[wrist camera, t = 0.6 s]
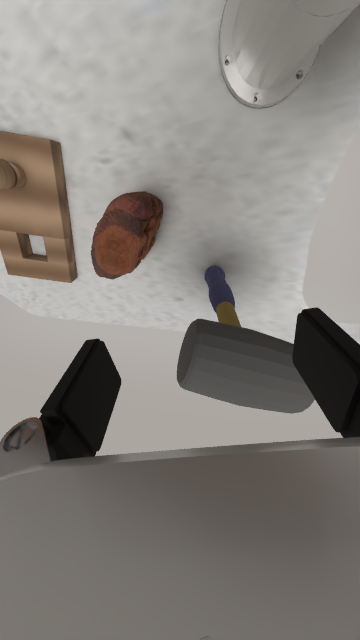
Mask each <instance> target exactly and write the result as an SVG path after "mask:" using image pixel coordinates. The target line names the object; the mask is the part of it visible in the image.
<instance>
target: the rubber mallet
mask: <svg viewBox="0 0 360 640" xmlns="http://www.w3.org/2000/svg"><path fill="white" fill-rule="evenodd" d="M205 281H206V283H207V284H208V287H209V299H210V302H211V304H212V307H213V309H214V310H215V312H216V313H217V317H218V320H219V322H214V321H209V320H204V319H196V320H195V321H193V322H192V323H191V324H190V326H189V327H188V330H187V332H186V334H185V337H184V340H183V343H182V346H181V350H180V355H179V360H178V366H177V380H178V383H179V385H180V387H182V388H184V389H186V390H188V391H192V392H195V393H198V394H201V395H205V396H208V397H211V398H215V399H218V400H222V401H225V402H229V403H232V404H236V405H239V406H245V407H251V408H257V409H263V410H270V411H278V412H284V413H298V412H302V411H304V410H305V409H307V408H308V407H310V405H311V404H312V403H313V401H314V400H315V398H314V397H313V395H312V393H311V392H310V390H309V388H308V387H307V385H306V384H305V382H304V380H303V379H302V377H301V376H300V374H299V372H298V371H297V369H296V367H295V366H294V364H293V360H292V355H293V348H294V344H291V343H289V342H286V341H284V340H281V339H278V338H275V337H272V336H269V335H266V334H263V333H260V332H257V331H254V330H251V329H247V328H242V327H241V325H240V322H239V320H238V317H237V314H236V312H235V309H234V308H235V301H234V297H233V294H232V291H231V289H230V287H229V285H228V284H227V283H226V281H225V274H224V271H223V269H221V268H220V267H217V266H213V267H211V268H209V269H208V270H207V271H206V273H205Z"/></svg>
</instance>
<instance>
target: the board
mask: <svg viewBox="0 0 360 640" xmlns="http://www.w3.org/2000/svg"><path fill="white" fill-rule="evenodd" d="M0 158H1V159H4V160H6V161H7V162H12V163H16V164H18V165H19V166H20V167H21V168H22V169H23V171H24V172H25V175H26V183H25V184H24V185H23V186H15V187H14V188H12V189H0V250H1V253H2V256H3V259H4V263H5V266H6V269H7V272H8V274H9V275H16V276H23V277H31V278H38V279H45V280H53V281H60V282H68V283H71V282H73V281H74V280H75V279H76V278H77V270H76V262H75V254H74V246H73V239H72V231H71V223H70V215H69V207H68V200H67V192H66V184H65V176H64V169H63V161H62V153H61V145H60V143H58V142H55V141H53V140H49V139H44V138H38V137H32V136H26V135H20V134H15V133H9V132H3V131H0ZM28 234H31V235H38V236H43V239H44V244H45V249H46V254H47V256H43V255H36V254H33V253H32V249H31V245H30V240H29V236H28Z"/></svg>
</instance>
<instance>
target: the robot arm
mask: <svg viewBox="0 0 360 640" xmlns="http://www.w3.org/2000/svg"><path fill="white" fill-rule="evenodd" d="M359 4H360V0H227V2H226V5H225V8H224V12H223V16H222V20H221V27H220V33H219V58H220V66H221V70H222V74H223V77H224V80H225V82H226V84H227V87H228V88H229V90H230V91H231V93H232V94H233V95H234V96H235V97H236V98H237V99H238V100H239V101H240V102H242V103H243V104H245V105H247V106H250V107H254V108H265V107H268V106H272V105H274V104H276V103H278V102H280V101H282V100H283V99H284V98H286V97H287V96H288V95H290V94H291V93H292V92H293V91H294V90H295V89H296V88H297V87H298V86H299V85H300V83H301V82H302V81H303V80H304V78H305V77H306V75H307V73H308V72H309V70H310V69H311V67H312V65H313V63H314V61H315V59H316V56H317V54H318V52H319V49H320V46H321V44H322V43H323V42H324V41H325V40H326V39H327V37H328V36H329V35H330V34H331V33H332V32H333V31H334V30H335V29H336V28H337V27H338V26H339V25H340V24H341V23H342V22H343V21H344V20H345V19H346V18H347V17H348V16H349V15H350V13H351V12H352V11H353V10H354V9H355V8H356V7H357V6H358V5H359ZM225 61H228V65H226V64H225ZM296 75H298V79H297V78H296ZM254 97H256V98H257V101H254ZM292 360H293V364H294V366H295V367H296V369H297V371H298V372H299V374H300V376H301V377H302V379H303V380H304V382H305V384H306V385H307V387H308V388H309V390H310V392H311V393H312V395H313V397H314V398H315V400H316V401H317V403H318V405H319V406H320V408H321V409H322V411H323V412H324V414H325V416H326V418H327V419H328V421H329V422H330V424H331V426H332V427H333V429H334V430H335V431H336V432H340V433H341V435H342V436H343V438H336V439H335V438H334V439H316V440H301V441H287V442H273V443H259V444H246V445H232V446H218V447H205V448H192V449H179V450H168V451H167V450H166V451H154V452H142V453H129V454H118V455H106V456H95V455H96V452H97V451H99V450H100V448H101V445H102V442H103V439H104V435H105V433H106V429H107V426H108V423H109V420H110V417H111V414H112V411H113V408H114V405H115V402H116V399H117V395H118V392H119V389H120V386H121V378H120V375H119V373H118V371H117V369H116V367H115V365H114V363H113V361H112V358H111V356H110V354H109V352H108V350H107V348H106V346H105V343H104V342H103V341H100V340H99V339H92V340H86V341H85V343H84V344H83V346H82V347H81V349H80V350H79V352H78V353H77V355H76V356H75V358H74V360H73V361H72V363H71V364H70V366H69V368H68V369H67V371H66V372H65V373H64V375H63V376H62V378H61V380H60V381H59V383H58V384H57V386H56V387H55V389H54V390H53V392H52V393H51V395H50V397H49V398H48V400H47V401H46V403H45V404H44V406H43V407H42V409H41V411H40V412H41V413H42V415H41V417H40V418H39V419H38V418H36V417H32V418H28V419H25V420H23V421H21V422H19V423H18V424H16V425H15V426H13V427H12V428H11V429H10V430H9V431H8V432H7V433H6V434H5V435H4V437H3V438H2V439H1V442H0V640H360V345H359V344H358V343H357V342H356V341H355V340H354V339H353V338H352V337H350V336H349V335H348V334H347V333H346V332H345V331H344V330H343V329H342V328H340V327H339V326H338V325H337V324H336V323H335V322H333V321H332V320H331V319H330V318H329V317H328V316H327V315H326V314H325V313H324V312H323V311H321V310H320V309H319V308H310V309H304V310H302V312H301V313H299V314H298V316H297V324H296V332H295V340H294V348H293V355H292Z"/></svg>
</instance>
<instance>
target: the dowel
mask: <svg viewBox="0 0 360 640" xmlns="http://www.w3.org/2000/svg"><path fill="white" fill-rule="evenodd" d="M25 183H26V175H25V172H24V171H23V169H22V168H21V167H20V166H19V165H18V164H16V163H12V162H7V161H6V160H4V159H1V158H0V189H12V188H14V187H15V186H23V185H24V184H25Z"/></svg>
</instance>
